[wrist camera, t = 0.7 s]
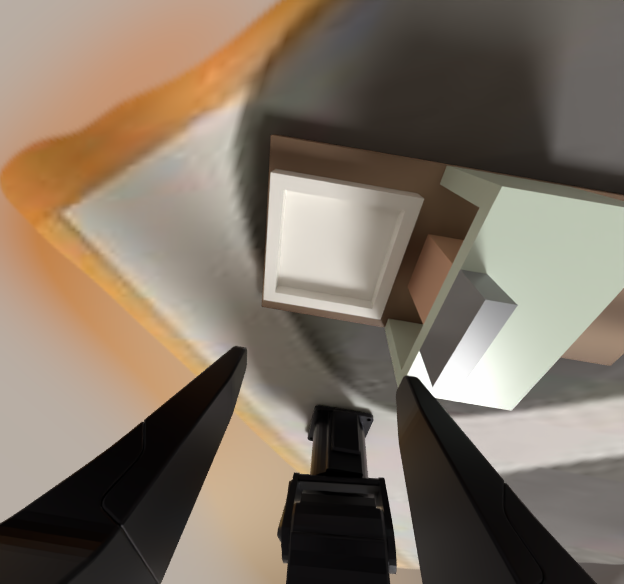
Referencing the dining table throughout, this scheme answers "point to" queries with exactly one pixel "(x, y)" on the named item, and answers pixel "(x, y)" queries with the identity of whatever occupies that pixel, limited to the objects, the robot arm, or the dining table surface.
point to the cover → (513, 289)
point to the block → (432, 271)
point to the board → (422, 229)
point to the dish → (335, 242)
